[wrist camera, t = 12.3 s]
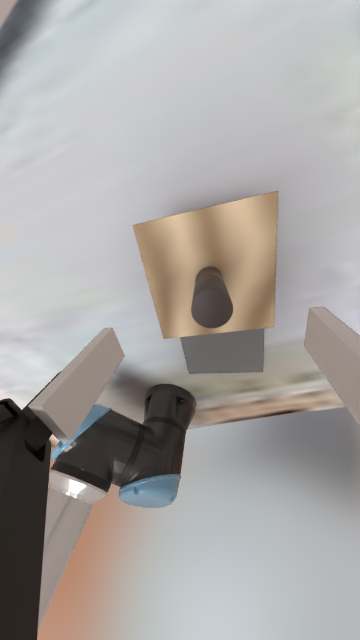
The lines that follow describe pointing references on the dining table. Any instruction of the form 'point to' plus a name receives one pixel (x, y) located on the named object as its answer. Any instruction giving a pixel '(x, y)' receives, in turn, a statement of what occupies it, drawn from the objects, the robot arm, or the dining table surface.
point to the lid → (213, 267)
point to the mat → (225, 352)
